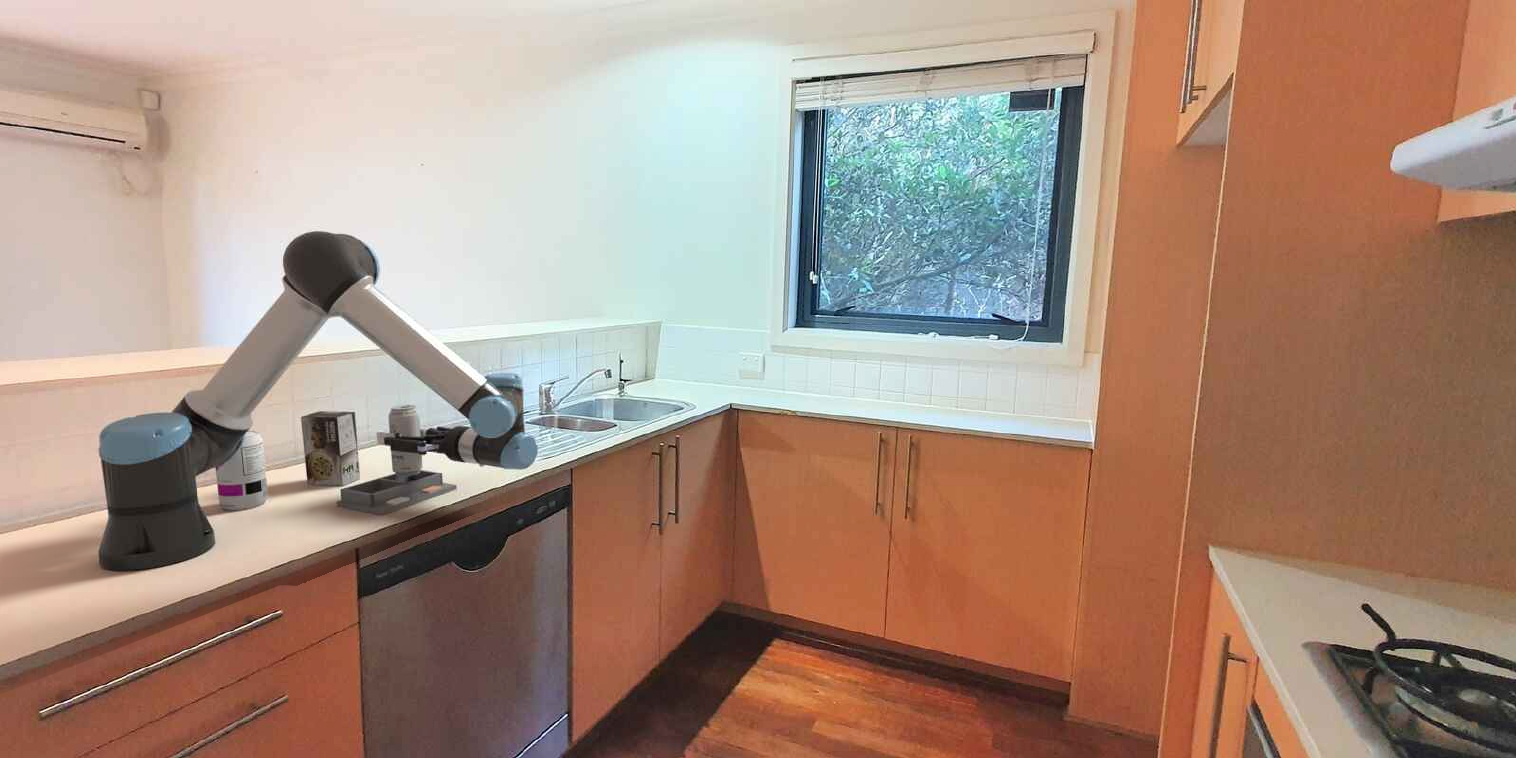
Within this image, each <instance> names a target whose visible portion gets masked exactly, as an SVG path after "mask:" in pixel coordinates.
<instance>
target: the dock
mask: <svg viewBox="0 0 1516 758" xmlns="http://www.w3.org/2000/svg"><path fill="white" fill-rule="evenodd" d="M443 479H444V478H443V473H442V472H438V471H437V472H436V471H430V470H424V469H421V470H420V473H418V474H416V475H411V476H397V475H396V474H395V473H392V474H389V475H385V476H382V477H379V478H375V479H372V480H368V481H365V482H361V483H358V484H357V483H356V484H354V485H351V486H347V487H344V488H340V500H337V501H336V507H339V508H344V509H349V510H355V511H359V512H365V513H369V514H373V515H378V516H384V515H386V514H389V513H391V512H395V511H398V510H400V509H403V508H407V507H409V506H412V505H415V504H418V503H420V502H423V501H427V500H429V499H432V498H435V497H438V495H439V496H441V495H444V494H447V493H450V492H452V491H451V490H453V491H456V490H458V487H457V484H453V483H447V482H443ZM455 489H456V490H455ZM449 491H450V492H449ZM446 492H447V493H446Z"/></svg>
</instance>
